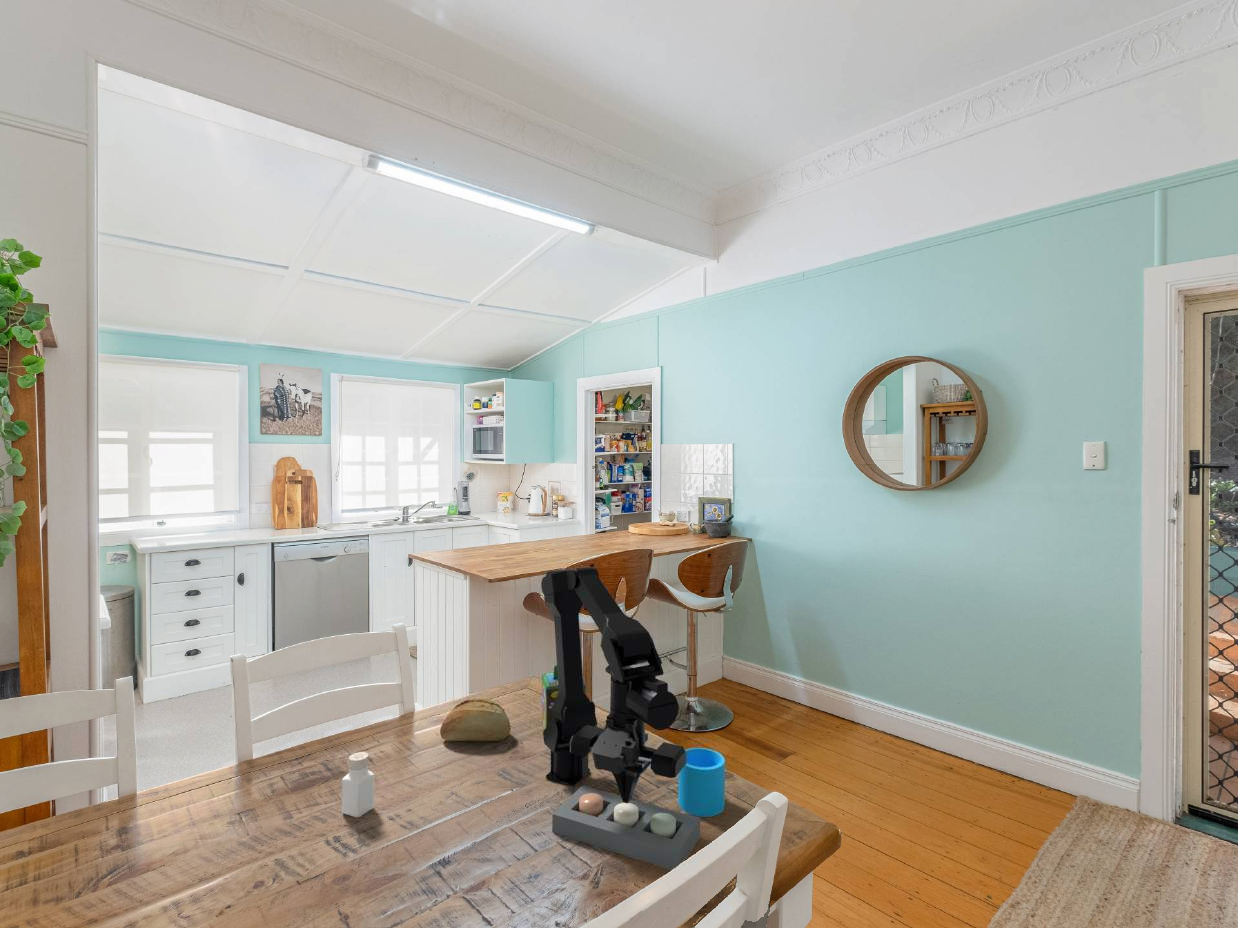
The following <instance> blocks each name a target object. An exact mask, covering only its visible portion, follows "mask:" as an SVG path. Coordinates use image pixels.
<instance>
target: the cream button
mask: <svg viewBox="0 0 1238 928" xmlns="http://www.w3.org/2000/svg"><path fill="white" fill-rule="evenodd" d="M638 812H639V810H638V807H637V806H636V805H634V804H631V803H628V804H627V803H620V804H618V805H616V806H615V808H614V822H615V823H618V824H622V825H625V826H628V827H632V828H634V827H635V826H636V825H637V823H638Z"/></svg>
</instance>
